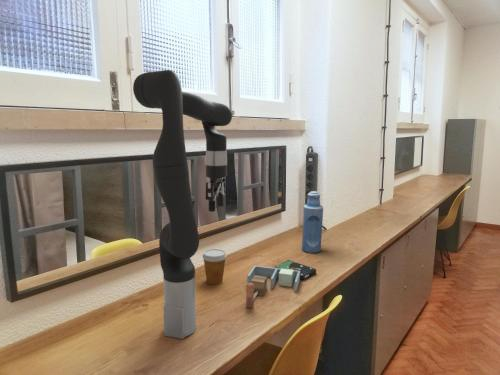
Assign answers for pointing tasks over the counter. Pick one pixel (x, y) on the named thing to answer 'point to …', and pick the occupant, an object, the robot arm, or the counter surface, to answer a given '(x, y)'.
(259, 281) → the block with brown handle
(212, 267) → the disposable coffee cup
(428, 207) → the counter surface
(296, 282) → the lane rack
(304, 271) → the disk drive
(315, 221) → the bottle
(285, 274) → the block
